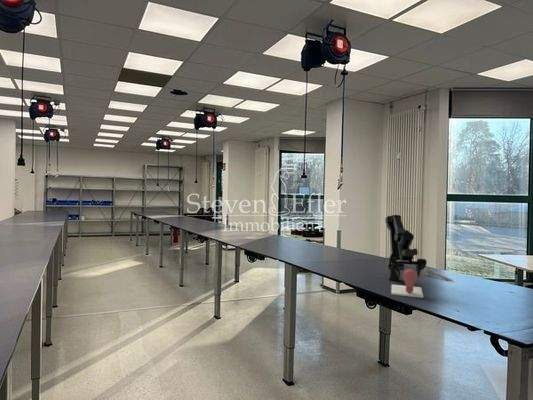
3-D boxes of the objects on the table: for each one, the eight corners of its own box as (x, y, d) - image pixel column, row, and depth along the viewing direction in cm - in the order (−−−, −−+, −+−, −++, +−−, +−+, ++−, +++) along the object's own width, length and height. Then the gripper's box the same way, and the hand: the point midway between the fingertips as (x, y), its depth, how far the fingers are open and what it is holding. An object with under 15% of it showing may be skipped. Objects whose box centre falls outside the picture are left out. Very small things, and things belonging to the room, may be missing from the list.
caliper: (423, 275, 246) (423, 265, 246) (424, 275, 247) (424, 265, 247) (452, 282, 229) (453, 271, 228) (454, 282, 229) (454, 271, 229)
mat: (391, 285, 215) (391, 284, 215) (420, 288, 210) (421, 287, 210) (391, 294, 197) (391, 292, 197) (423, 297, 192) (423, 296, 192)
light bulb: (409, 290, 203) (410, 267, 203) (419, 294, 196) (421, 270, 196) (398, 291, 200) (400, 267, 200) (409, 294, 193) (410, 270, 193)
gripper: (389, 241, 204) (393, 267, 194) (426, 243, 203) (432, 269, 192) (385, 254, 213) (389, 279, 202) (421, 255, 211) (426, 281, 200)
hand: (409, 277), depth 199 cm, fingers open, 9 cm apart
